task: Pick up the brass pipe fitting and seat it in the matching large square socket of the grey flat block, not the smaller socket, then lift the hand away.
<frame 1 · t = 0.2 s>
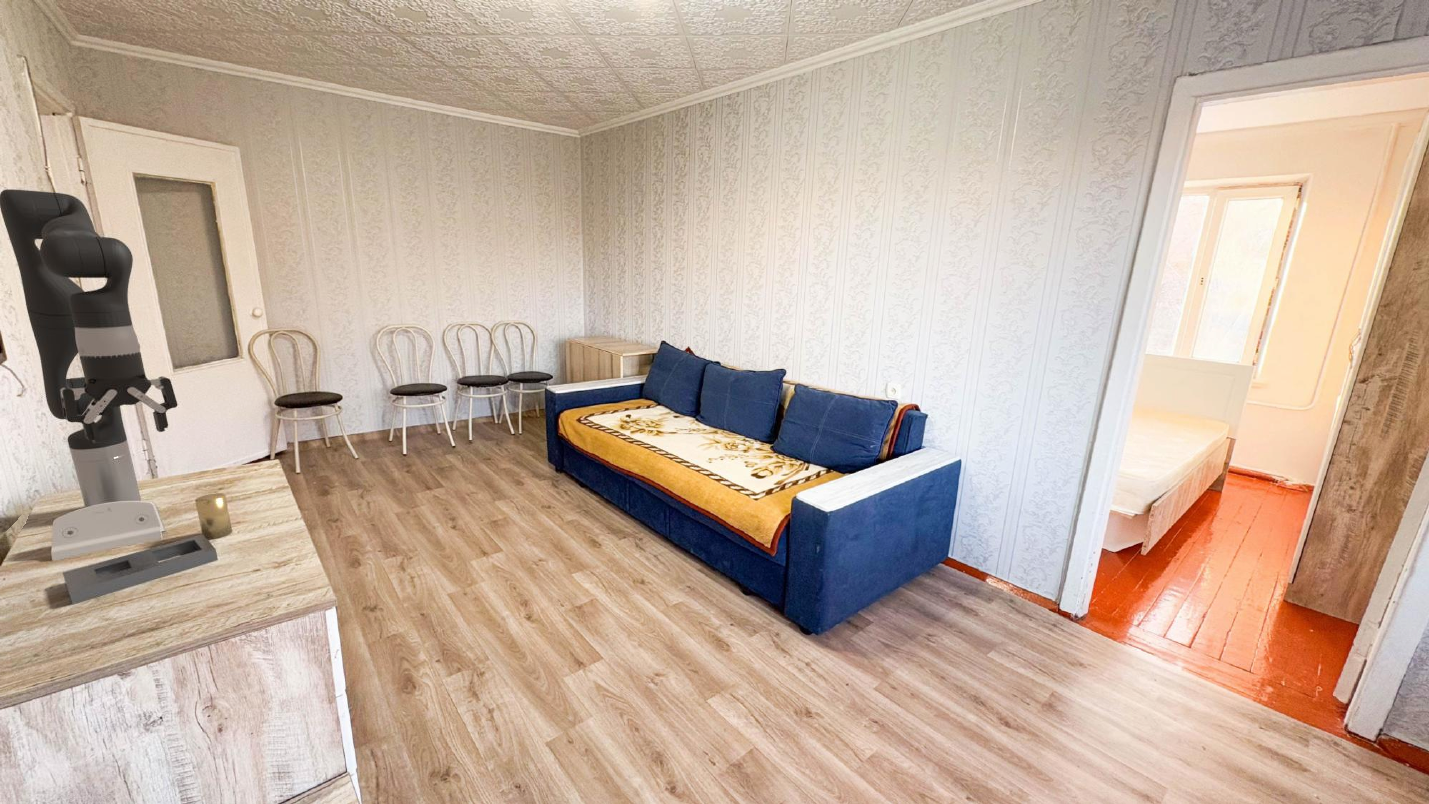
hand: (129, 436, 102), 28 cm above the table, tool pointing down, fingers open, 8 cm apart
fitting: (217, 534, 124), on the table
grey flat block: (145, 571, 109), on the table
grey curved housing: (112, 543, 119), on the table
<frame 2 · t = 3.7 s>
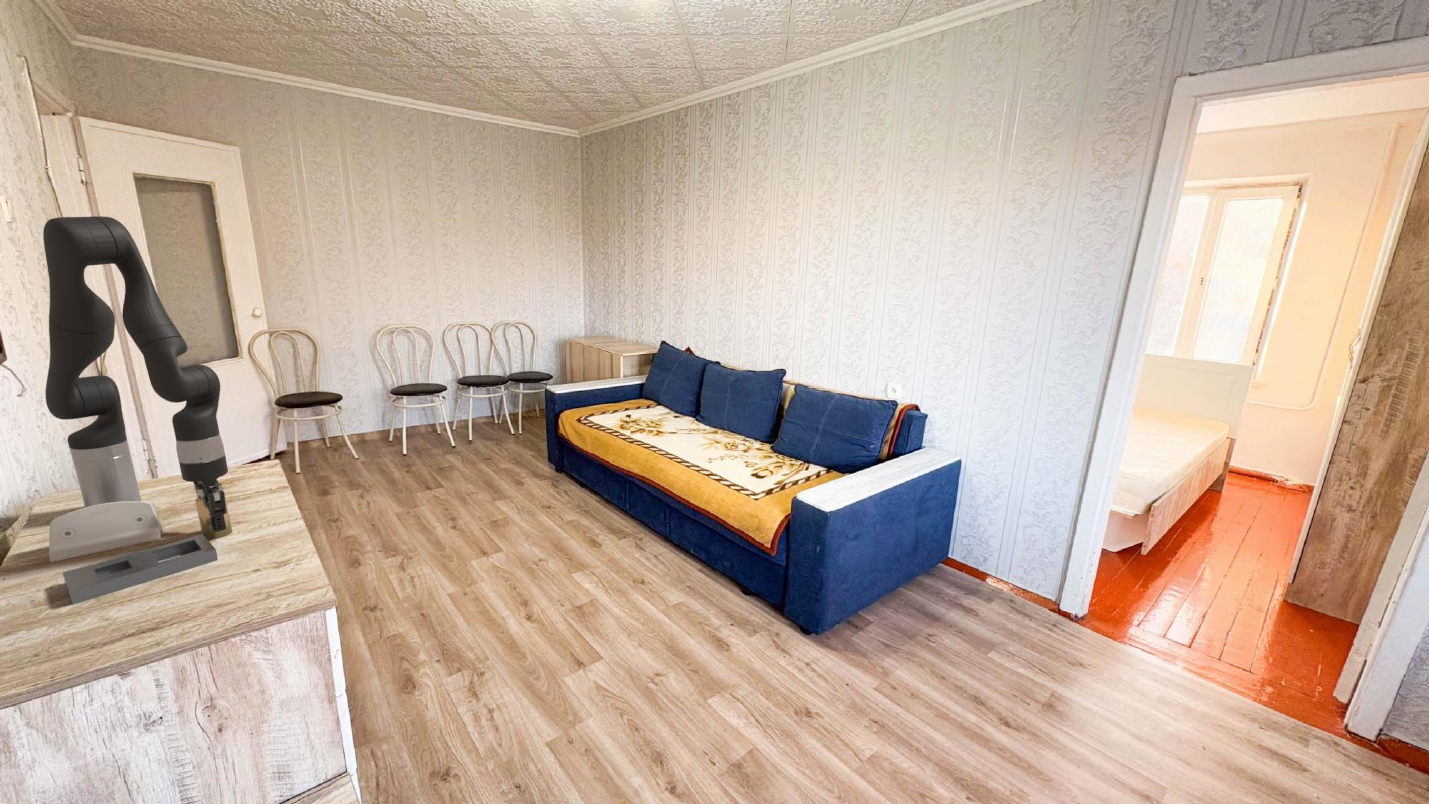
hand: (216, 526, 124), 2 cm above the table, tool pointing down, fingers closed on fitting, 5 cm apart
fitting: (217, 534, 124), on the table, touching gripper
everything else where it was.
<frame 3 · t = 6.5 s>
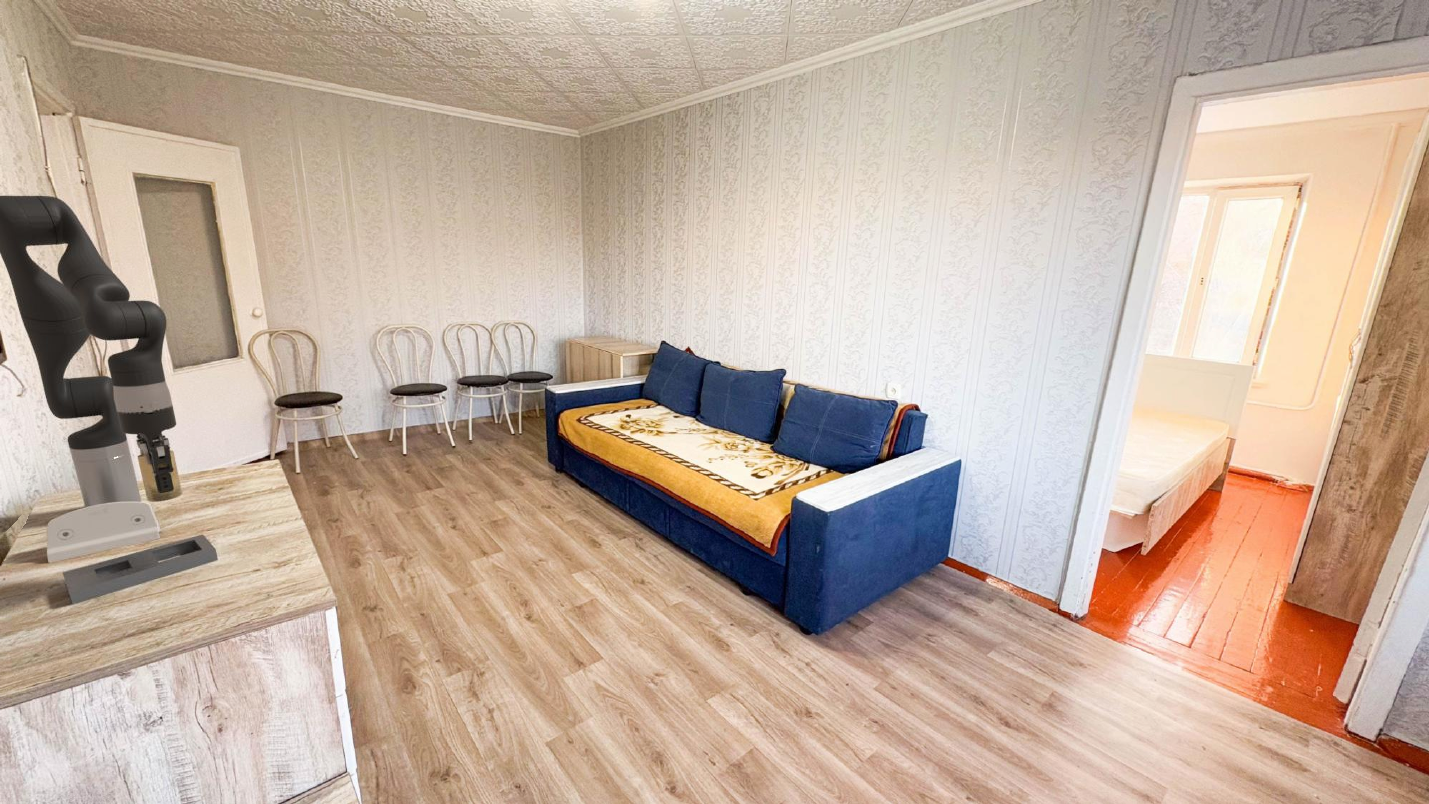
hand: (162, 487, 109), 16 cm above the table, tool pointing down, fingers closed on fitting, 5 cm apart
fitting: (165, 496, 109), point 15 cm above the table, touching gripper
everything else where it was.
when the fingers open (3 cm above the table, at t = 9.2 s): fitting drops 1 cm, resting in grey flat block.
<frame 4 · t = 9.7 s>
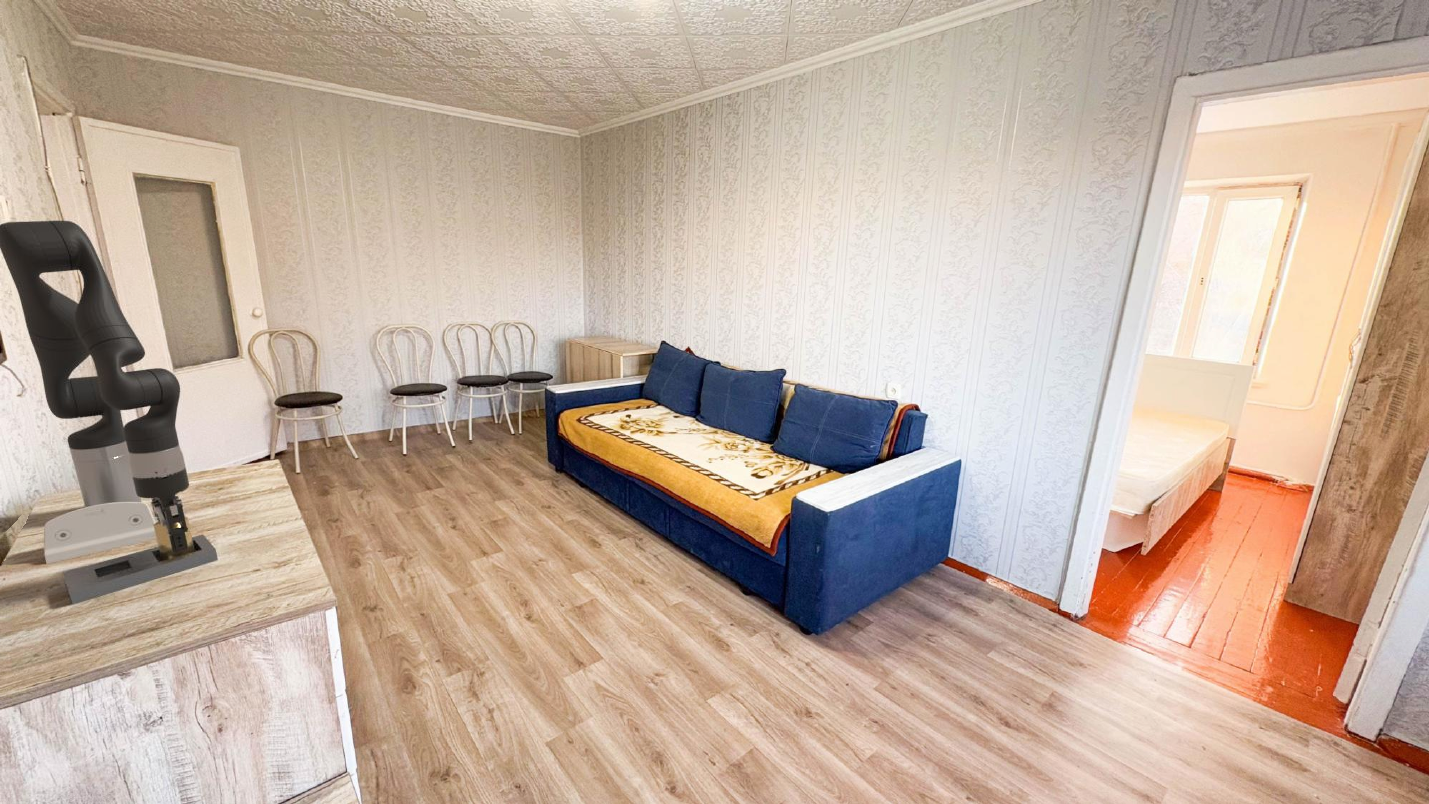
hand: (175, 543, 112), 4 cm above the table, tool pointing down, fingers open, 8 cm apart
fitting: (179, 561, 113), resting in grey flat block
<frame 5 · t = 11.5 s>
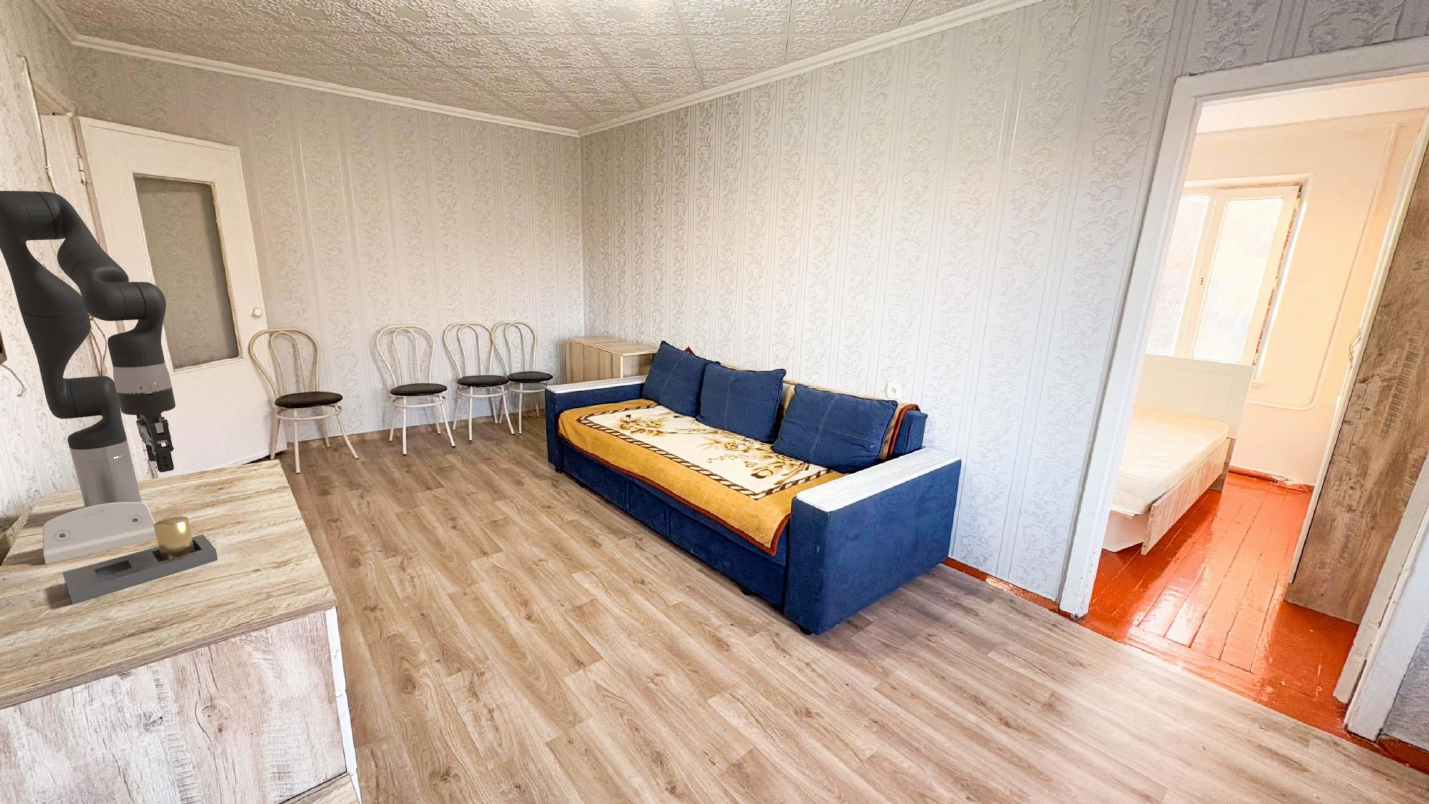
hand: (161, 465, 109), 21 cm above the table, tool pointing down, fingers open, 8 cm apart
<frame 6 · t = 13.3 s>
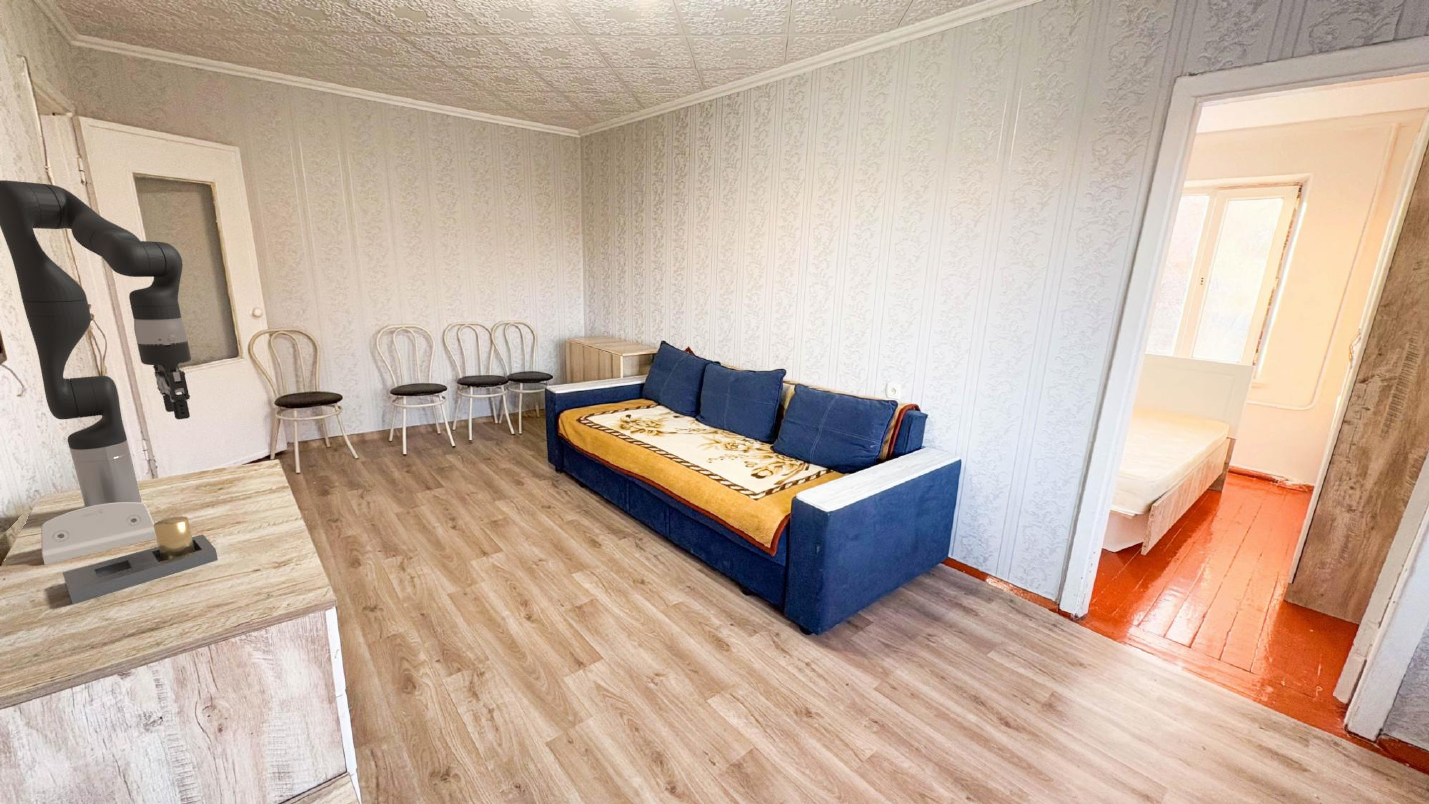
hand: (178, 414, 118), 28 cm above the table, tool pointing down, fingers open, 8 cm apart
at the end: fitting 0.0 cm from the target spot on the grey flat block, point 0.0 cm above the grey flat block's base; fitting tilted 0°; the gripper is holding nothing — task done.
